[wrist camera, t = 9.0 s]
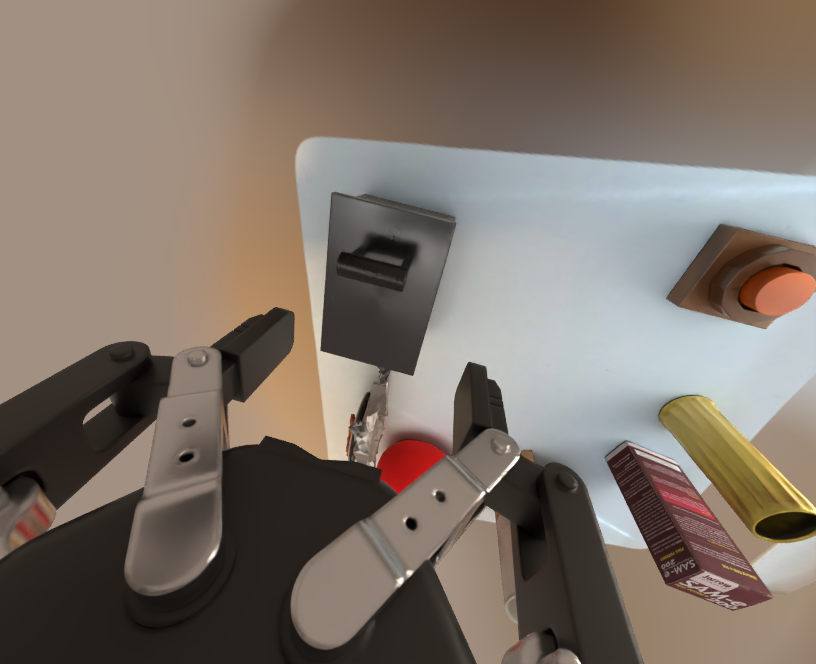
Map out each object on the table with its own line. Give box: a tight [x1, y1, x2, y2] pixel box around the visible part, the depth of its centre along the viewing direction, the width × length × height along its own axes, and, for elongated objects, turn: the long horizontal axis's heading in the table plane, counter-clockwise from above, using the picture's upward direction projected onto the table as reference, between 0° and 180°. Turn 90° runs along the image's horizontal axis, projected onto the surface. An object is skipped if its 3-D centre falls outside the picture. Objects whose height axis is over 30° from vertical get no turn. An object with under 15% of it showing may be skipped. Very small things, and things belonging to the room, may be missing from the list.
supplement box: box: [605, 441, 773, 611], centre depth 37 cm, size 9×5×16 cm, turn 69°
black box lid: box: [321, 192, 456, 376], centre depth 25 cm, size 16×10×6 cm, turn 168°
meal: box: [346, 366, 391, 467], centre depth 40 cm, size 15×4×13 cm, turn 173°
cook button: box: [739, 266, 816, 316], centre depth 26 cm, size 4×4×2 cm
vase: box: [659, 396, 816, 543], centre depth 33 cm, size 6×6×14 cm
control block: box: [666, 224, 816, 329], centre depth 28 cm, size 8×9×4 cm
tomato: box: [377, 440, 446, 494], centre depth 46 cm, size 12×13×11 cm
